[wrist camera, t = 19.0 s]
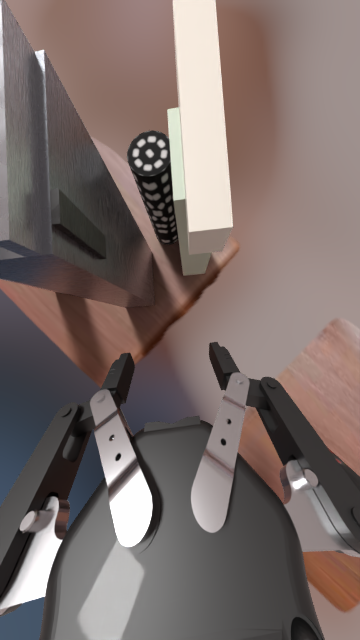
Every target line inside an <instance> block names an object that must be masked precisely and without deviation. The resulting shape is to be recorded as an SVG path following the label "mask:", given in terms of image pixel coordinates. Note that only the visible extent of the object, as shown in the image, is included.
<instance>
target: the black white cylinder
mask: <svg viewBox="0 0 360 640" xmlns="http://www.w3.org/2000/svg"><path fill="white" fill-rule="evenodd" d="M127 159H128V163H129V166H130V168H131V171H132V174H133V176H134V179H135V181H136V184H137V187H138V189H139V192H140V194H141V197H142V200H143V202H144V205H145V208H146V210H147V213H148V215H149V218H150V221H151V223H152V226H153V228H154V231H155V234H156V236H157V239H158V240H159V241H160V242H161V243H163V244H172V243H174V242H176V241H177V240H178V231H177V224H176V216H175V208H174V201H173V186H172V171H171V156H170V141H169V138H168V137H167V136H166V135H165V134H163V133H161V132H159V131H146V132H143V133H141V134H139V135H138V136H137V137H136V138H135V139H134V140H133V141H132V142H131V144H130V146H129V149H128V153H127Z"/></svg>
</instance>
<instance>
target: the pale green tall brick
mask: <svg viewBox="0 0 360 640" xmlns="http://www.w3.org/2000/svg"><path fill="white" fill-rule="evenodd" d="M168 126H169V141H170V156H171V171H172V186H173V201H174V208H175V216H176V224H177V231H178V239H179V247H180V254H181V262H182V270H183V276H185V275H196V274H205V272H206V268H207V265H208V262H209V259H210V256H211V253H212V252H211V253H201V254H192V255H189V247H188V233H187V218H186V204H185V189H184V175H183V160H182V146H181V131H180V117H179V107H178V108H173V109H168Z"/></svg>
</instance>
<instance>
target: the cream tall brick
mask: <svg viewBox="0 0 360 640" xmlns="http://www.w3.org/2000/svg"><path fill="white" fill-rule="evenodd" d="M173 17H174V35H175V55H176V73H177V87H178V102H179V117H180V131H181V146H182V160H183V175H184V189H185V204H186V218H187V233H188V247H189V255H192V254H201V253H211V252H220V251H222V250H223V248H224V246H225V244H226V241H227V239H228V237H229V235H230V233H231V230H232V228H233V220H232V207H231V194H230V182H229V169H228V156H227V143H226V130H225V118H224V106H223V93H222V79H221V66H220V54H219V41H218V28H217V15H216V4H215V0H173Z"/></svg>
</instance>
